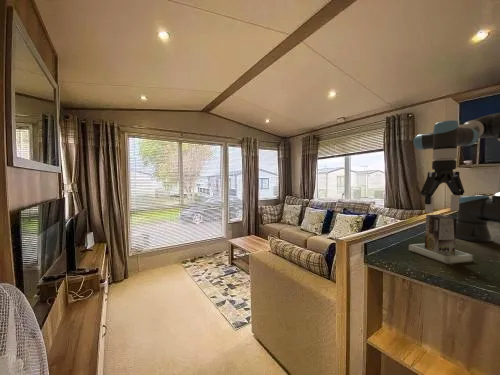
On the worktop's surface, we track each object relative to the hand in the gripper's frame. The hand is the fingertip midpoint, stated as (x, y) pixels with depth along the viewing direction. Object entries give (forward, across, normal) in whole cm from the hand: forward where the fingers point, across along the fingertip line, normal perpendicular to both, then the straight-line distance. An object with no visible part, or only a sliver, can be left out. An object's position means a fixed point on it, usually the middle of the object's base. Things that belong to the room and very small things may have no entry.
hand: (442, 211), depth 94 cm
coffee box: (+18, +1, 0) cm, 18 cm away
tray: (+18, +1, 0) cm, 19 cm away
